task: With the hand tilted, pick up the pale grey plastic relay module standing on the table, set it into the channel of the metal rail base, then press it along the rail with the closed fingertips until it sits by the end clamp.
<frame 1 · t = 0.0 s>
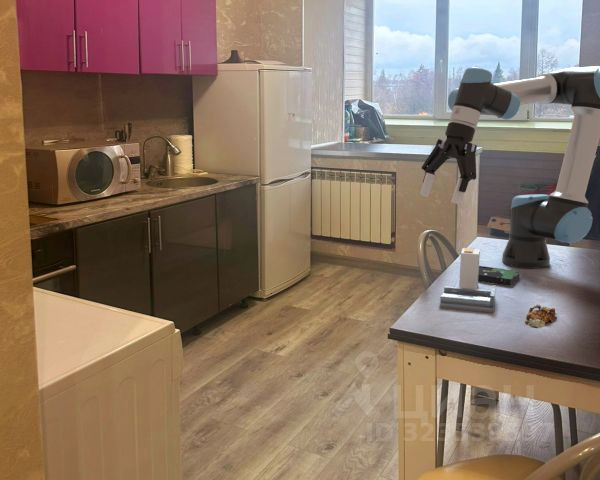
hand: (439, 199, 180), 28 cm above the table, tool tilted 20°, fingers open, 13 cm apart
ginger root: (540, 322, 167), on the table
module: (468, 286, 195), on the table
disk drive: (491, 280, 203), on the table
rail base: (467, 302, 180), on the table
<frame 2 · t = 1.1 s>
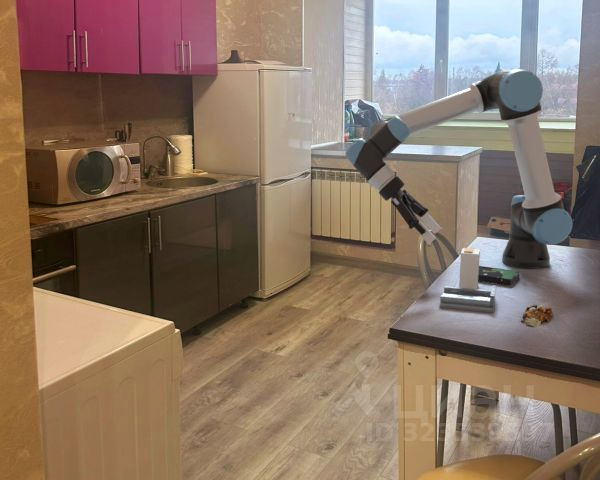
hand: (435, 236, 194), 15 cm above the table, tool tilted 45°, fingers open, 13 cm apart
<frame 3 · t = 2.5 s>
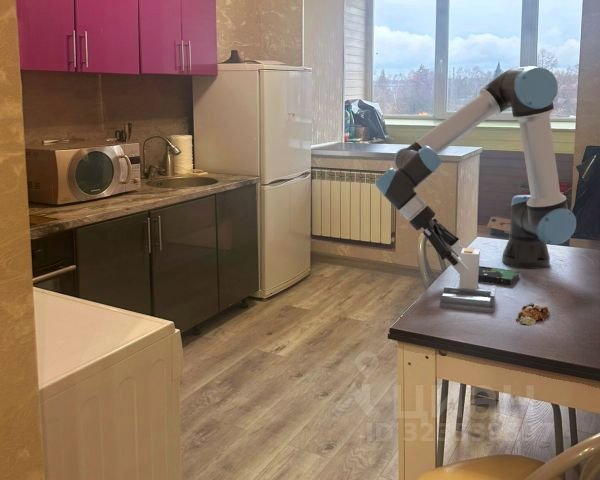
hand: (466, 266, 193), 6 cm above the table, tool tilted 45°, fingers open, 13 cm apart
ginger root: (532, 320, 169), on the table
everything else where it was.
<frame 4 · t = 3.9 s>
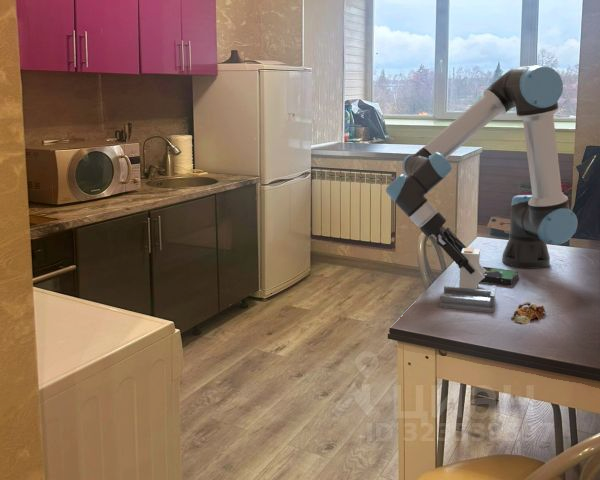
hand: (481, 276, 193), 3 cm above the table, tool tilted 45°, fingers closed on module, 6 cm apart
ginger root: (527, 319, 170), on the table
module: (468, 286, 195), on the table, touching gripper
everything else where it was.
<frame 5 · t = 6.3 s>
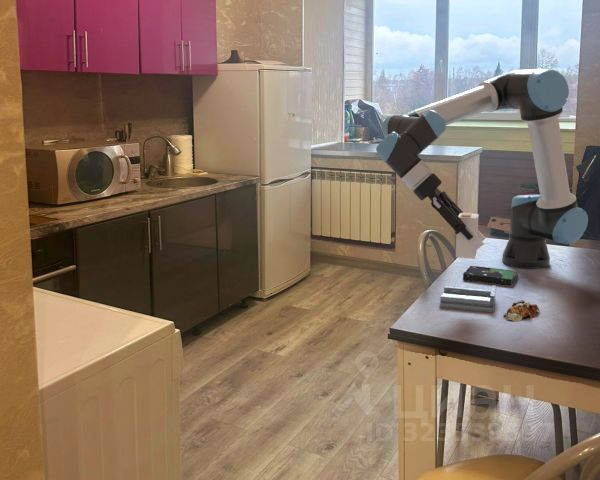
hand: (480, 244, 176), 17 cm above the table, tool tilted 45°, fingers closed on module, 6 cm apart
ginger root: (520, 317, 171), on the table
module: (466, 255, 178), point 14 cm above the table, touching gripper
everything else where it was.
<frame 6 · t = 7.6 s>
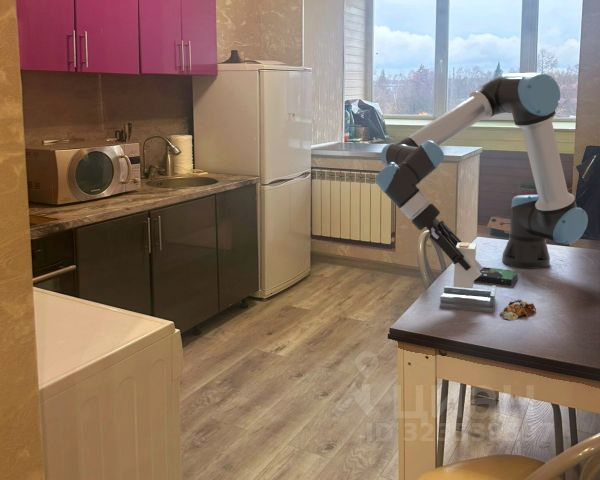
hand: (478, 273, 177), 9 cm above the table, tool tilted 45°, fingers closed on module, 6 cm apart
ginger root: (517, 316, 172), on the table
module: (463, 284, 179), point 5 cm above the table, touching gripper
everything else where it was.
when the fingers open (6 cm above the table, at t = 8.4 s): module drops 1 cm, point 2 cm above the table.
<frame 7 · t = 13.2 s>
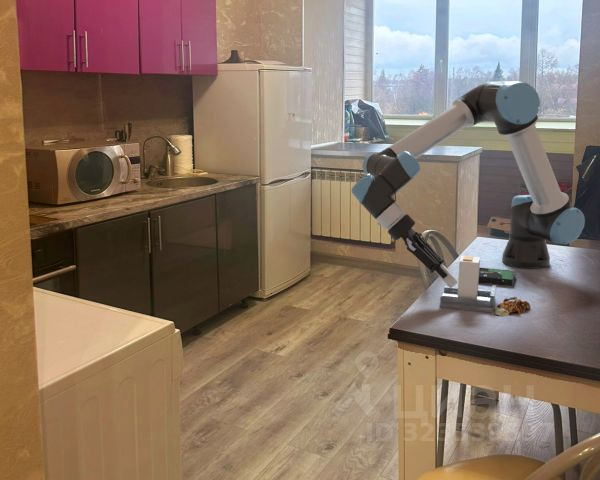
hand: (454, 284, 180), 5 cm above the table, tool tilted 45°, fingers closed
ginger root: (510, 312, 175), on the table
module: (467, 297, 180), point 2 cm above the table, touching gripper
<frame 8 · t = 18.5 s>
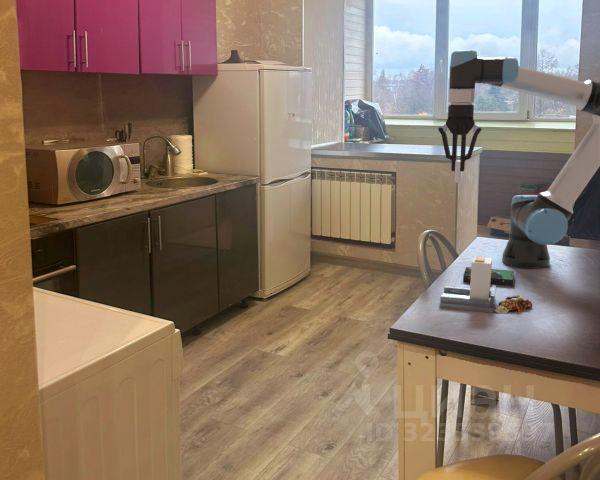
hand: (457, 181, 201), 29 cm above the table, tool pointing down, fingers closed
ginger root: (511, 310, 176), on the table
module: (479, 298, 179), point 1 cm above the table, touching rail base
at the end: module 0.1 cm from the target spot on the rail base, point 1.5 cm above the rail base's base; module tilted 0°; the gripper is holding nothing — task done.
